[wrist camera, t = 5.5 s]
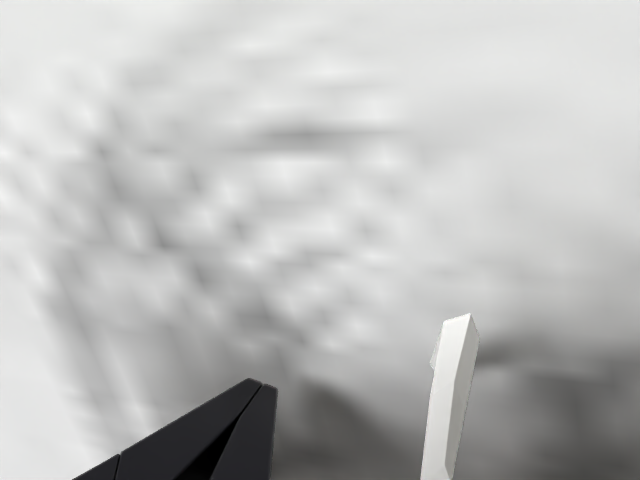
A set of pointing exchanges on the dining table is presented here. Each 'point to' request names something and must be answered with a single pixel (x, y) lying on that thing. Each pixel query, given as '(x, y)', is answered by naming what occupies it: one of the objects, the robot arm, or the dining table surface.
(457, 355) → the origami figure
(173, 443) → the robot arm
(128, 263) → the dining table surface
